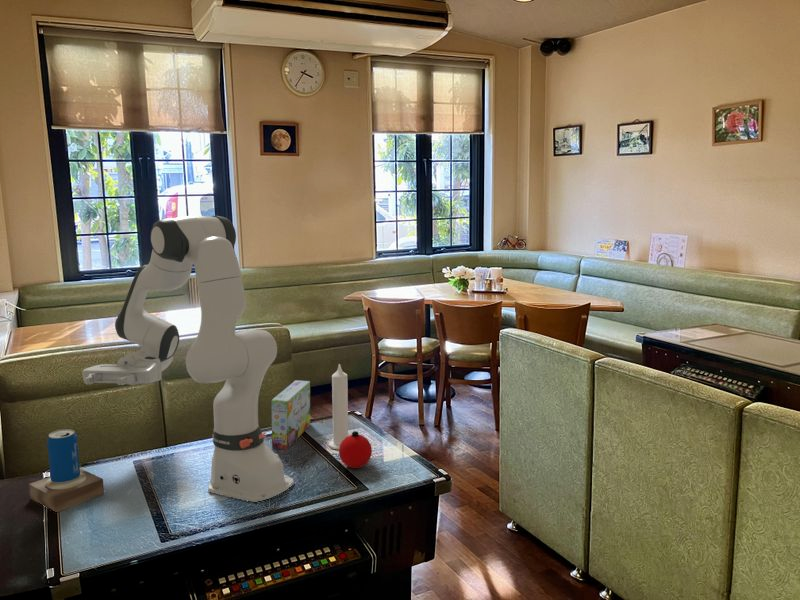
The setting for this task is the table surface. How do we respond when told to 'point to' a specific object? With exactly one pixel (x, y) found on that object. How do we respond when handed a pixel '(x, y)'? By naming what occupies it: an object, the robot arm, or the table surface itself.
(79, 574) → the table surface
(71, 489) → the base block
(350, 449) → the ornament
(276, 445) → the snack box
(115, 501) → the table surface
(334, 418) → the candle
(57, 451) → the beverage can
